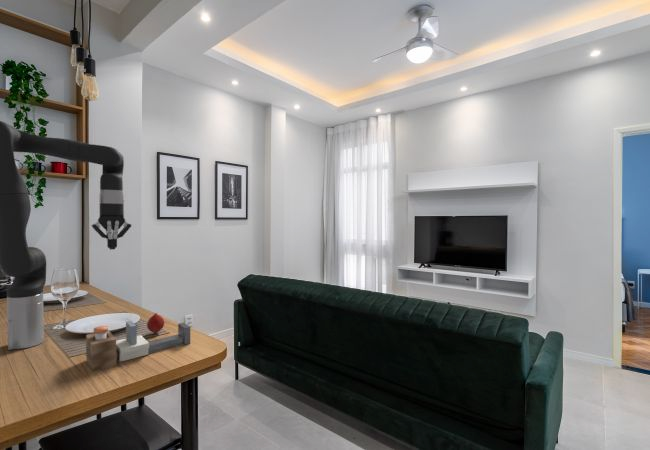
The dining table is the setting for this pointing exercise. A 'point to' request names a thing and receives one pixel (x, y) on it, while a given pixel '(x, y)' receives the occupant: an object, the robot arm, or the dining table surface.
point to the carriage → (131, 344)
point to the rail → (169, 340)
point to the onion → (155, 323)
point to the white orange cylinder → (100, 332)
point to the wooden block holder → (101, 351)
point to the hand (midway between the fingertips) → (112, 249)
